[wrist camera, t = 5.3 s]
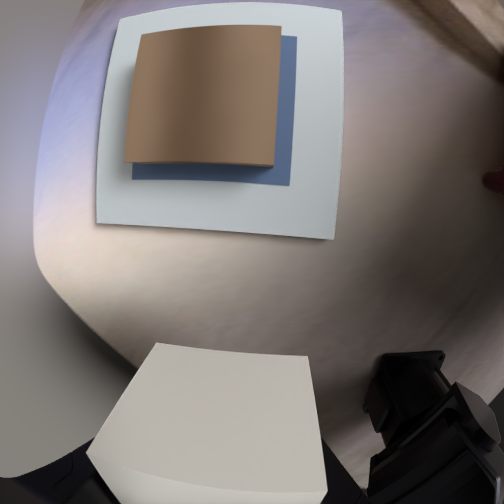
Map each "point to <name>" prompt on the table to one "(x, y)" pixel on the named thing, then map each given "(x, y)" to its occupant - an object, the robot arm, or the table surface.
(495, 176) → the decorative lantern
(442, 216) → the table surface
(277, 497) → the plastic cube
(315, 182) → the board
